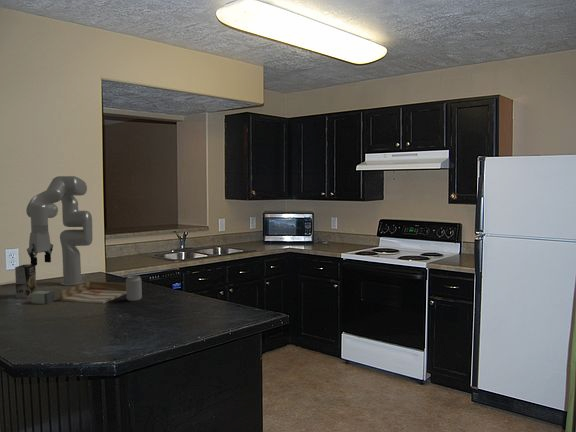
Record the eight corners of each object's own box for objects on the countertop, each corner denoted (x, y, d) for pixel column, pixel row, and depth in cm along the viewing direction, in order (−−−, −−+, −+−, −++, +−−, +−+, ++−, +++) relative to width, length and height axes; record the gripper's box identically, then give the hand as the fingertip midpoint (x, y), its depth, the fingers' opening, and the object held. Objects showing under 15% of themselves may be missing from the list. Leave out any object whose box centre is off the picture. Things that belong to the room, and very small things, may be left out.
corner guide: (89, 290, 278) (89, 281, 278) (129, 292, 273) (129, 283, 272) (60, 301, 255) (60, 291, 254) (103, 303, 249) (102, 293, 249)
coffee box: (28, 298, 262) (26, 267, 261) (15, 298, 262) (14, 267, 261) (37, 293, 271) (35, 263, 270) (25, 293, 271) (23, 264, 270)
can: (144, 298, 260) (143, 274, 259) (138, 301, 252) (137, 277, 252) (130, 297, 261) (129, 274, 260) (123, 301, 253) (123, 277, 252)
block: (38, 300, 256) (38, 290, 256) (54, 301, 254) (54, 291, 254) (31, 303, 251) (31, 293, 251) (47, 304, 249) (47, 293, 249)
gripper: (45, 227, 259) (46, 261, 260) (20, 230, 242) (21, 266, 243) (58, 227, 257) (59, 261, 258) (33, 230, 240) (35, 266, 241)
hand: (41, 263), depth 251 cm, fingers open, 9 cm apart
